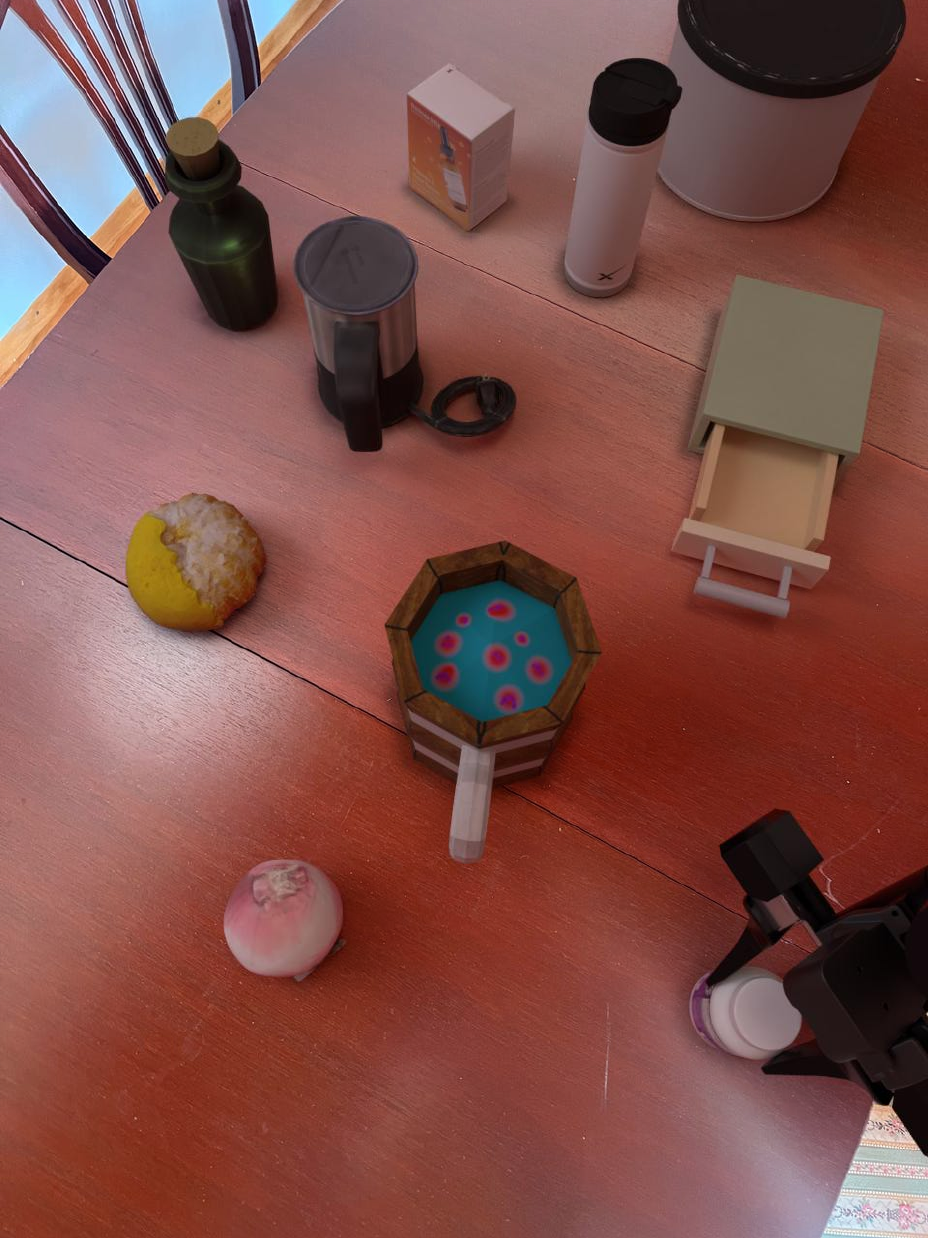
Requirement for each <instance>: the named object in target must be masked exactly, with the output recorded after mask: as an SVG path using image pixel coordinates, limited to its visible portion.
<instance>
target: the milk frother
mask: <svg viewBox="0 0 928 1238" xmlns="http://www.w3.org/2000/svg"><path fill="white" fill-rule="evenodd" d="M292 265H293V266H292V269H293V276H294V279H295V283H296V285H297V286H298V288H299V289H300V291H301V293H302V297H303V302H304V308H305V313H306V318H307V323H308V328H309V333H310V338H311V342H312V346H313V347H312V348H313V351H314V352H313V353H314V357H315V362H316V371H317V378H318V381H317V390H318V395H319V397H320V400H321V402H322V405H323V406H324V407H325V409H326V410H327V412H329V414H330V415H332V416H333V417H334V418H335V419H337V420H338V421H340V422H342V425H343V428H344V432H345V436H346V440H347V444H348V448H349V449H350V451H352V452H354V453H355V452H356V453H377V452H380V451H381V450H382V448H383V442H384V441H383V440H384V439H383V428H384V427H388V426H391V425H394V424H396V423H398V422H400V421H402V420H403V419H405V418H406V417H407V416H409V415H410V414H411V413H412V414H413V415H414V416H416V417H417V418H419V420H421V421H422V422H424V423H426V424H427V425H428V426H430V427H431V428H433V429H435V430H437V431H438V432H441V433H443V434H445V435H448V436H450V437H458V438H474V437H475V438H476V437H480V436H485V435H487V434H489V433H493V432H494V431H496V430H497V429H498V428H500V427H502V426H503V425H504V424H505V423H507V422H508V421H509V419H510V418H511V417H512V416H513V414H514V412H515V410H516V407H517V395H516V391H515V390H514V388H513V387H512V386H511V385H510V384H509V383H508V382H506V381H505V380H502V379H500V378H499V377H495V376H492V377H491V376H490V374H489V373H483V376H482V375H471V376H466V377H460V378H457V379H456V380H453V381H452V382H451V381H450V383H449V384H448V385H446V386H445V387H444V388H442V389H441V390H439V392H438V393H437V394H436V395H435V396H434V398H433V400H432V403H431V406H430V414H431V415H430V414H429V413H427V412H426V411H425V410H424V409H422V408H420V406H418V404H419V402H420V401H421V399H422V396H423V392H424V388H425V387H424V386H425V378H424V372H423V370H422V367H421V365H420V355H419V345H418V344H419V343H418V325H417V323H418V322H417V301H416V280H417V276H418V273H419V267H420V266H419V259H418V254H417V252H416V249H415V246H414V245H413V243H412V241H411V240H410V238H409V237H408V236H407V235H406V234H404V232H402V231H401V230H400V229H399V228H398V227H395V226H394V225H392V224H390V223H388V222H386V221H383V220H381V219H379V218H378V219H377V218H372V217H368V216H364V215H349V216H344V217H339V218H336V219H333V220H329V221H326V222H325V223H323V224H320V225H319V226H318V227H316V228H314V229H313V230H311V231H310V232H308V234H307V235H306V236H305V237H304V238H303V239H302V241H301V242H300V244H299V245H298V246H297V249H296V251H295V254H294V258H293V263H292ZM472 389H475V392H476V393H475V394H476V401H477V404H478V406H479V407H480V408H481V414H482V415H483V417H481V418H479V419H477V420H473V421H460V420H456V419H454V418H451V417H449V416H448V415H447V414H446V408H447V406H448V404H449V403H450V402H451V401H452V400H453V399H454V398H455V397H456V396H458V395H459V394H462V393H463V392H466V391H468V390H472ZM500 397H501V398H500Z"/></svg>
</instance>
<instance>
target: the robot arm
mask: <svg viewBox="0 0 928 1238" xmlns="http://www.w3.org/2000/svg"><path fill="white" fill-rule="evenodd" d="M719 853H720V857H721V859H722V860H723V861H724V863H725V865H726V866H727V867H728V869H729V870H730V872H731V873H732V875H733V876H734V878H735V880H737V883H739V885H740V886H741V889H742V890H743V891H744V893H745V895H744V896H743V897H742V900H741V901H742V907H743V909H744V911H745V912H746V914H747V915H748V920H747V923H746V926H745V927H744V929H743V931H742V933H741V935H740V936H739V938H738V940H737V942H736V943H735V944H734V946H733V947H732V948H731V949H730V950H729V952H728V953H727V955H726V956H725V957H724V958H723V959H722V960H721V961H720V963H719V964H718V965H717V966H716V968H715V969H713V970H714V971H713V970H712V971H713V972H712V974H711V975H710V976H709V977H708V979H707V980H706V981H705V983H706V984H707V986H708V987H711V986H713V985H715V984H717V983H719V982H722V981H723V980H725V979H727V978H728V977H729V976H731V975H732V974H733V973H735V972H736V971H737V970H739V969H740V968H741V967H743V966H746V965H747V964H748V963H749V962H751V961H752V960H754V959H755V958H756V957H758V956H759V955H760V954H761V953H763V952H765V951H766V950H768V949H770V948H772V947H773V946H775V945H776V944H777V943H778V942H779V941H780V940H781V939H782V938H783V937H784V936H785V935H786V934H787V933H788V932H789V931H790V930H791V929H792V928H793V927H796V926H797V925H799V924H801V925H802V926H803V928H804V929H805V931H806V932H807V934H808V935H809V937H810V938H811V940H812V941H813V943H815V946H816V947H817V948H815V950H813V951H812V952H811V953H810V954H809V955H807V956H806V957H805V958H804V959H802V960H801V961H800V962H799V963H797V965H795V966H793V967H791V969H789V970H788V971H787V972H786V973H785V974H784V977H783V979H782V980H783V989H784V993H785V995H786V997H787V999H788V1000H789V1002H790V1004H791V1005H792V1006H793V1007H794V1008H796V1009H797V1010H798V1011H799V1012H800V1014H801V1015H802V1019H803V1020H804V1021H805V1023H806V1024H807V1026H808V1028H809V1029H810V1031H811V1032H812V1034H813V1035H814V1037H815V1038H813V1039H810V1040H807V1041H805V1042H802V1043H799V1044H797V1045H794V1046H792V1047H788V1048H787V1049H786V1050H785V1051H784V1052H782V1053H781V1054H779V1055H777V1056H775V1057H772V1058H769V1059H766V1061H765V1062H764V1063H763V1064H762V1066H761V1067H760V1071H762V1073H763V1075H765V1076H793V1077H794V1076H796V1077H799V1076H800V1077H822V1078H833V1079H839V1080H845V1081H849V1082H852V1083H853V1084H855V1085H856V1086H858V1087H860V1088H861V1089H863V1090H864V1091H865V1092H866V1093H867V1094H868V1095H869V1096H870V1097H871V1099H872V1100H873V1102H874V1103H875V1104H876V1105H878V1106H882V1107H888V1106H890V1104H891V1109H892V1110H893V1112H894V1113H895V1115H896V1117H897V1118H898V1119H899V1121H900V1123H901V1124H902V1125H903V1127H904V1129H905V1130H906V1131H907V1133H908V1134H909V1136H910V1138H912V1140H913V1141H914V1143H915V1145H916V1146H917V1147H918V1149H919V1150H920V1153H922V1155H923V1156H925V1157H927V1158H928V864H927V865H925V866H922V867H921V868H919V869H918V870H915V871H913V872H911V873H910V874H908V875H906V876H904V877H902V878H900V879H898V880H896V881H895V882H893V883H891V884H889V885H887V886H885V887H883V888H881V889H879V890H878V891H876V892H874V893H871V894H870V895H868V896H866V897H864V898H863V899H861V900H858V901H856V902H855V903H853V904H851V905H848V906H847V907H845V908H844V909H841V910H839V911H837V912H836V911H835V909H834V908H833V906H832V905H831V904H830V902H829V900H827V898H826V896H825V895H824V894H823V892H822V891H821V890H820V888H819V887H818V885H817V884H816V883H815V880H813V878H812V877H811V875H810V873H812V872H813V871H814V870H815V869H816V868H817V867H818V866H819V865H820V864H822V862H824V861H825V858H824V857H823V855H822V854H821V853H820V852H819V850H818V848H817V847H816V846H815V845H814V843H813V842H812V840H811V838H810V837H809V836H808V835H807V833H806V831H805V830H804V829H803V828H802V826H801V825H800V823H799V822H798V821H797V819H796V818H795V817H794V815H793V814H792V812H791V811H790V810H786V809H781V808H773V809H771V810H770V811H768V812H767V813H765V814H764V815H762V816H760V817H759V818H757V819H756V820H754V821H752V822H750V823H749V824H748V825H746V826H745V827H743V828H742V829H741V830H739V831H738V832H736V833H735V834H734V835H732V836H731V837H729V838H727V839H726V840H725V841H723V842H722V843H720V844H719ZM891 1102H892V1103H891Z"/></svg>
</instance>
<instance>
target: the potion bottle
mask: <svg viewBox="0 0 928 1238" xmlns="http://www.w3.org/2000/svg"><path fill="white" fill-rule="evenodd" d="M165 143H166V144H167V146H168V149H169V150H170V151H169V152H168V154H167V156H166V157H165V163H164V164H165V165H164V181H165V184H166V187H167V188H168V191H169V192H170V193H172V194H173V195H174V196H175V197H177V198H178V200H177V202H176V203H175V205H174V207H173V208H172V210H171V212H170V216H169V223H168V235H169V237H170V240H171V242H172V244H173V246H174V248H175V251H176V253H177V254H178V257H179V259H180V260H181V262H182V265H183V267H184V268H185V270H186V272H187V275H188V277H189V279H190V280H191V282H192V285H193V287H194V289H195V290H196V292H197V295H198V296H199V299H200V301H201V302H202V305H203V306H204V308H205V310H206V313H207V314H208V317H209V319H211V320H212V321H213V322H214V323H216V324H217V325H218V326H221V327H223V328H226V329H229V330H233V331H236V330H237V331H238V330H239V331H240V330H250V329H253V328H256V327H258V326H261V325H262V324H264V323H265V322H266V321H267V320H268V319H270V318H271V317H272V316H273V314H274V312H275V310H276V309H277V307H278V299H279V292H278V284H277V276H276V275H277V274H276V267H275V266H276V265H275V259H274V252H273V251H274V250H273V244H272V243H273V242H272V235H271V225H270V217H269V214H268V212H267V210H266V208H265V206H264V204H263V202H262V201H261V200H260V199H259V198H258V197H257V196H256V195H254V194H253V193H252V192H251V191H249V190H248V189H247V188H245V187H244V186H242V185H239V183H240V181H241V180H242V171H243V167H242V165H241V162H240V161H239V158H238V156H237V155H236V153H235V152H234V150H233V149H232V148H231V146H229V145H228V144H226V143H225V142H224V141H222V140H221V139H219V130H218V128H217V127H216V125H215V124H214V123H213V122H212V121H211V120H210V119H207V118H204V117H200V116H190V117H189V116H188V117H185V118H182V119H178V120H177V121H176V122H174V123H173V124H172V125H170V127H169V128H168V130H167V132H166V135H165Z"/></svg>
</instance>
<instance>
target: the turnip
mask: <svg viewBox="0 0 928 1238" xmlns="http://www.w3.org/2000/svg"><path fill="white" fill-rule="evenodd" d="M343 922H344V905H343V900H342V897H341V893H340V891H339V889H338V887H337V886H336V884H335V882H334V881H333V879H332V878H331V877H329V875H327V874H326V872H324V870H323V869H321V868H320V867H317V866H316V865H314V864H311V863H310V862H307V861H304V860H301V859H270V860H265V861H262V862H261V863H258V864H256V865H255V866H254V867H252V868H251V869H250V870H249V871H247V872H246V873H245V874H244V875H243V876H242V877H241V878H240V879H239V881H238V882H237V884H236V885H235V887H234V888H233V890H232V893H231V894H230V896H229V899H228V900H227V904H226V906H225V910H224V915H223V931H224V937H225V940H226V943H227V945H228V948H229V950H230V952H231V953H232V955H233V956H234V958H235V959H236V960H237V962H238V963H239V965H241V966H242V967H243V968H244V969H246V970H247V971H249V972H251V973H253V974H254V975H255V974H256V975H259V976H264V977H270V978H271V977H272V978H289V977H293V978H294V979H295V980H296V981H297V982H300V983H301V982H302V981H303V980H304V979H306V978H307V977H308V976H309V975H310V974H311V973H313V971H314V970H316V969H317V968H318V967H319V966H320V965H321V964H322V963H323V961H324V960H325V958H326V957H331V956H333V955H334V954H336V953H337V951H339V950H340V949H341V948H342V947H343V946H344V945H345V944H346V942H347V940H346V939H344V938H343V937H342V938H341V939H340V940H339V939H338V937H339V935H340V932H341V930H342V927H343Z"/></svg>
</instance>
